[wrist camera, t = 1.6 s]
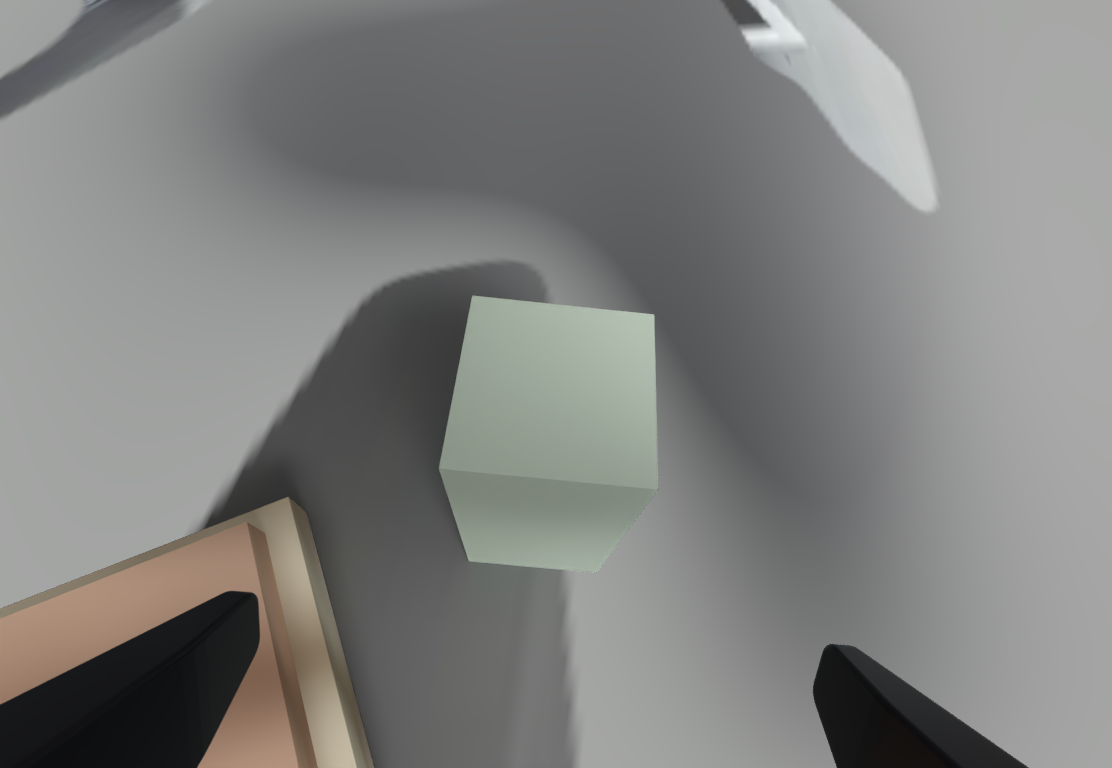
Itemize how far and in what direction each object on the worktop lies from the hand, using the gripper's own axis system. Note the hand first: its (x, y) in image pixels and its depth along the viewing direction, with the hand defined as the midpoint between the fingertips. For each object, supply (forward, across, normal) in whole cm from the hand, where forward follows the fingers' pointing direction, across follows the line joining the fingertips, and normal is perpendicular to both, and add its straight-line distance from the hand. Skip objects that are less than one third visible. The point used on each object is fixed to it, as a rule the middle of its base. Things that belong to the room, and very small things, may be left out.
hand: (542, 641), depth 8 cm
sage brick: (+13, 0, +4) cm, 14 cm away
